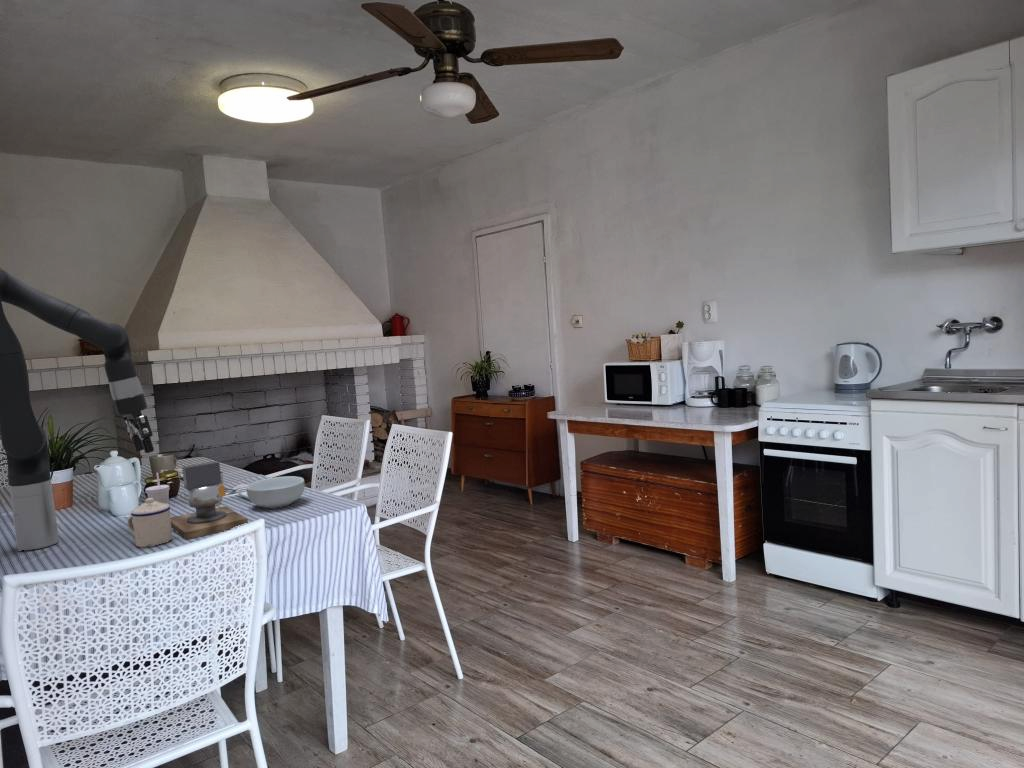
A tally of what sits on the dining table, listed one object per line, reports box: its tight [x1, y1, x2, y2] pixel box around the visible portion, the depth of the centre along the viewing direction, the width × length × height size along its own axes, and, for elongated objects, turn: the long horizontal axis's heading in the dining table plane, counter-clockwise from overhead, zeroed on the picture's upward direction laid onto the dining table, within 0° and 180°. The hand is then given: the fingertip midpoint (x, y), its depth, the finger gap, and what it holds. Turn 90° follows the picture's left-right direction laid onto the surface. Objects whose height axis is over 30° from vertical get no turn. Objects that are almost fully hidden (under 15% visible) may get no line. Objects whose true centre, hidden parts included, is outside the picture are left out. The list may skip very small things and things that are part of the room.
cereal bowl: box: [245, 475, 306, 509], centre depth 212 cm, size 17×17×7 cm
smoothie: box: [145, 472, 171, 505], centre depth 203 cm, size 6×6×14 cm
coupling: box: [181, 460, 226, 508], centre depth 193 cm, size 10×8×11 cm
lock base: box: [170, 504, 249, 540], centre depth 194 cm, size 16×20×6 cm
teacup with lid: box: [126, 497, 173, 548], centre depth 181 cm, size 12×9×12 cm
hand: (144, 451), depth 193 cm, fingers open, 8 cm apart
